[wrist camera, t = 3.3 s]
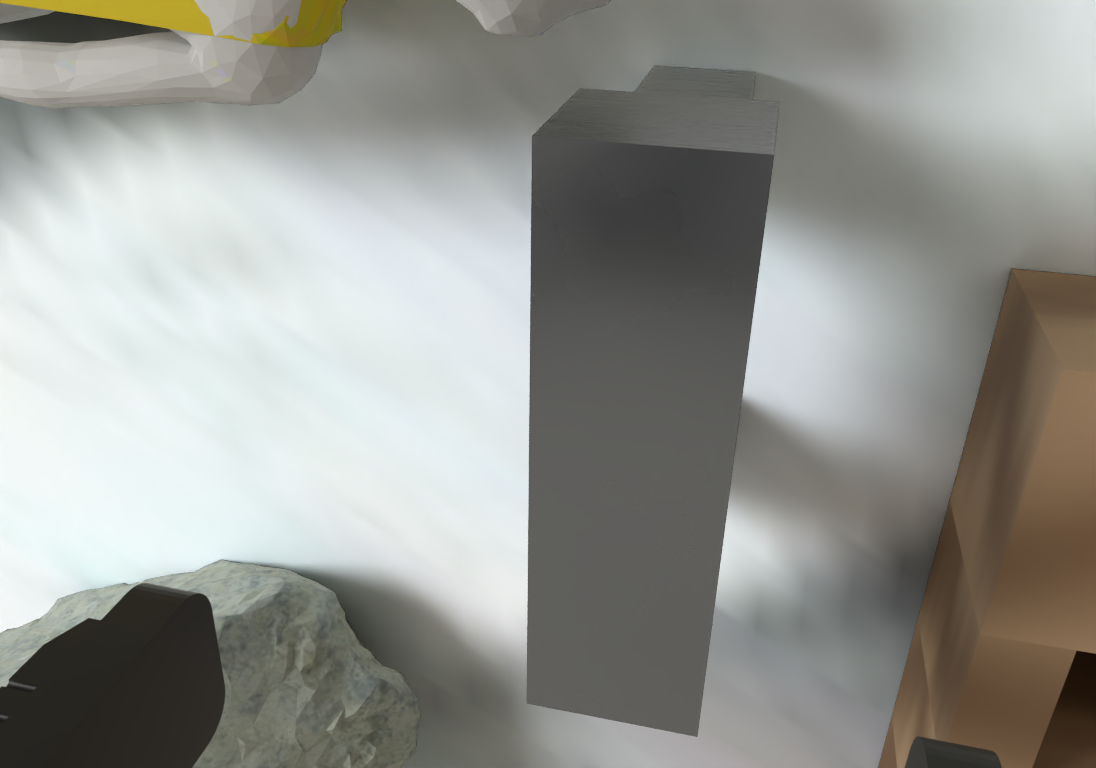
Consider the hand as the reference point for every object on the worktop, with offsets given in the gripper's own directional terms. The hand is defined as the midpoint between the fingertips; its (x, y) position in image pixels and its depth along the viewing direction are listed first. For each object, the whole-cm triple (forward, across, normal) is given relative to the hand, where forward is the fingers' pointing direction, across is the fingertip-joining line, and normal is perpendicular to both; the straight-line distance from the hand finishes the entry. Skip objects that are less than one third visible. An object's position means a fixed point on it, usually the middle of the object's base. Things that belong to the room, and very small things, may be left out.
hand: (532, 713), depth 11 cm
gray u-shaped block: (+12, 0, -1) cm, 12 cm away
